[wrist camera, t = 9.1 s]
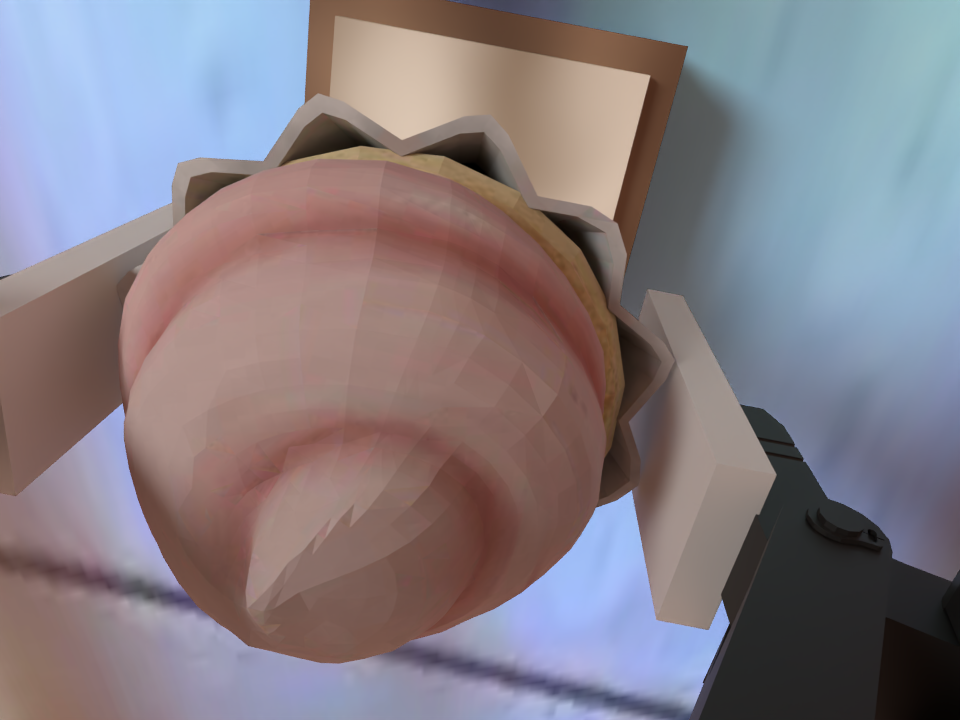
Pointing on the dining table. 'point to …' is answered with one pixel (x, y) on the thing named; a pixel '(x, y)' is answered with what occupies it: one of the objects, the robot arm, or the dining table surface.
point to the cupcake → (376, 382)
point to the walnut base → (507, 89)
